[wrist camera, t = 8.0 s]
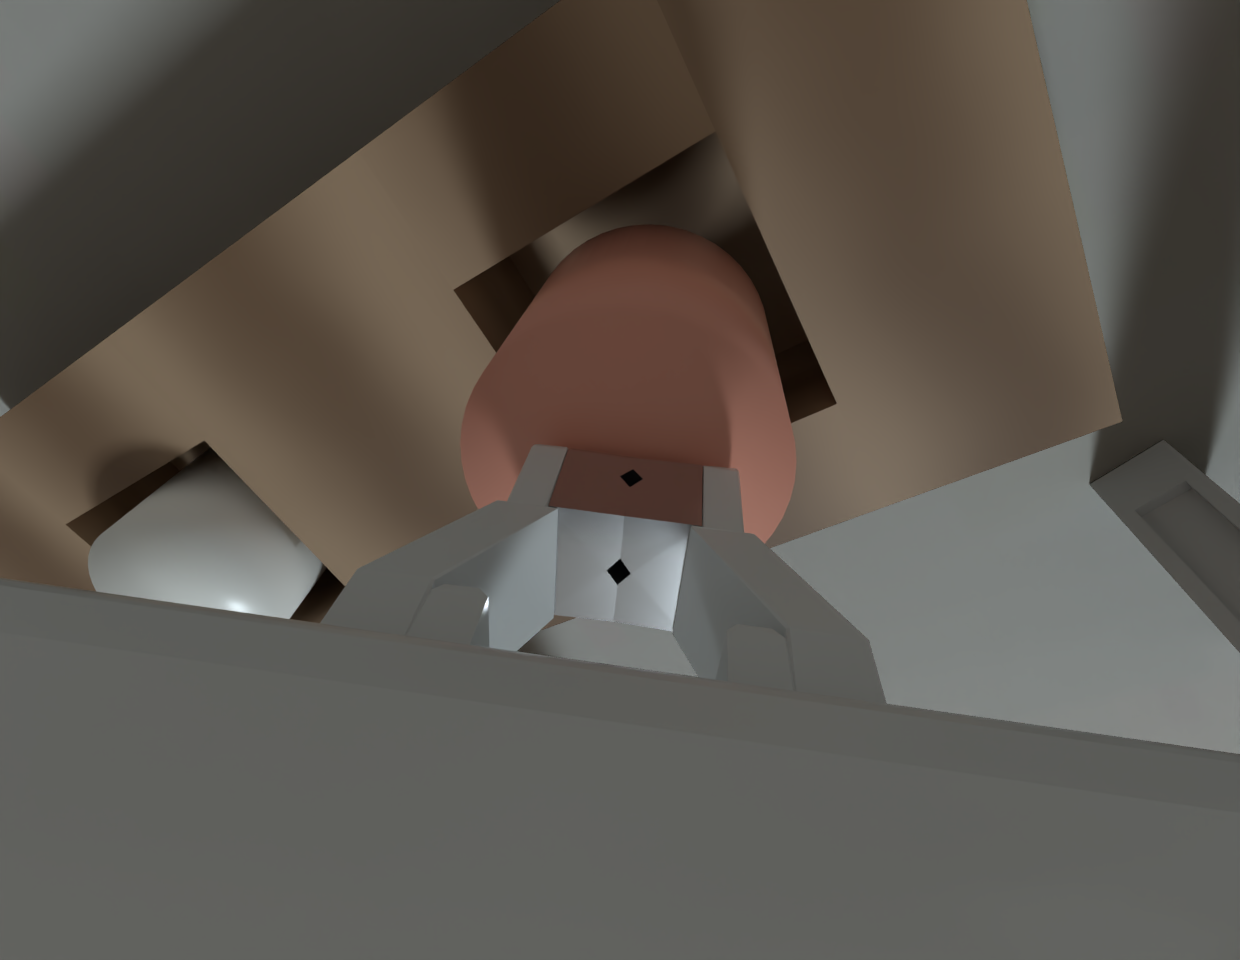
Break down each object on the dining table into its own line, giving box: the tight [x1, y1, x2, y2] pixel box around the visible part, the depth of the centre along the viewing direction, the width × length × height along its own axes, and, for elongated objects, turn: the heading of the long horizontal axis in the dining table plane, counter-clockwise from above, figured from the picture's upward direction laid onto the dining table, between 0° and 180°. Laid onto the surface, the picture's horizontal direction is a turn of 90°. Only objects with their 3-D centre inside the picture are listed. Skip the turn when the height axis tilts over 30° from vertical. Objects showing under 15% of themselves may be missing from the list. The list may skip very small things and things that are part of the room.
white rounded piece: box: [88, 447, 327, 619], centre depth 20 cm, size 5×5×5 cm
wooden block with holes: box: [0, 0, 1123, 630], centre depth 19 cm, size 30×12×5 cm, turn 120°
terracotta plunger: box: [460, 224, 797, 544], centre depth 12 cm, size 5×5×5 cm
